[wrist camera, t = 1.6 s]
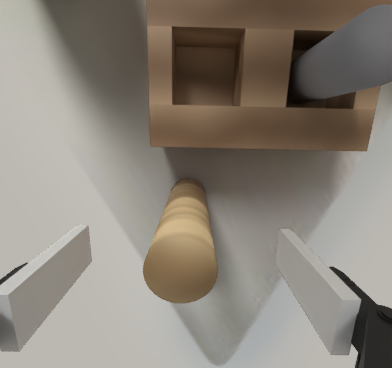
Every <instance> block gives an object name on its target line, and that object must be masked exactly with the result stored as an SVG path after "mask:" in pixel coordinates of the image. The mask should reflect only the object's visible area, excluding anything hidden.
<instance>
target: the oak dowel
mask: <svg viewBox="0 0 392 368" xmlns="http://www.w3.org/2000/svg"><path fill="white" fill-rule="evenodd" d="M143 274H144V279H145V281H146V284H147V285H148V287H149V288H150V290H151V291H152V292H153V293H154V294H155V295H157V296H158V297H160V298H162V299H164V300H166V301H169V302H173V303H189V302H193V301H196V300H198V299H200V298H202V297H203V296H205V295H206V294H207V293H208V292H209V291H210V290H211V289H212V288H213V286H214V284H215V282H216V279H217V275H218V267H217V261H216V255H215V249H214V244H213V238H212V232H211V226H210V220H209V214H208V208H207V202H206V196H205V191H204V188H203V187H202V185H201V184H200V183H199V182H197V181H195V180H192V179H183V180H180V181H179V182H177V183H176V184H175V185H174V186H173V188H172V190H171V193H170V195H169V198H168V201H167V203H166V206H165V209H164V211H163V214H162V217H161V219H160V222H159V224H158V227H157V230H156V232H155V235H154V238H153V240H152V243H151V246H150V248H149V251H148V254H147V256H146V259H145V262H144V266H143Z"/></svg>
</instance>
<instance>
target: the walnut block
mask: <svg viewBox="0 0 392 368" xmlns="http://www.w3.org/2000/svg"><path fill="white" fill-rule="evenodd" d="M382 4H389V5H392V0H146V9H147V45H148V81H149V117H150V147H193V148H239V149H286V150H332V151H367V148H368V143H369V139H370V134H371V129H372V124H373V119H374V114H375V110H376V105H377V100H378V95H379V90H380V86H376V87H372V88H368V89H364V90H360V91H355V92H351V93H347V94H343V95H339V96H334V97H330V98H326V99H322V100H317V101H313V102H309V103H305V104H299V105H297V104H292V103H290V102H288V101H287V91H288V83H289V74H290V65H291V62H292V61H294V60H295V59H296V58H298V57H299V56H301V55H302V54H304V53H305V52H306V51H308V50H309V49H311V48H312V47H314V46H315V45H316V44H318V43H319V42H321V41H322V40H324V39H325V38H326V37H328V36H329V35H331V34H332V33H334V32H335V31H337V30H338V29H339V28H341V27H342V26H344V25H345V24H347V23H348V22H349V21H351V20H352V19H354V18H355V17H357V16H358V15H359V14H361V13H362V12H364V11H365V10H367V9H369V8H371V7H374V6H377V5H382Z"/></svg>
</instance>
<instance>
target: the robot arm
mask: <svg viewBox="0 0 392 368" xmlns="http://www.w3.org/2000/svg"><path fill="white" fill-rule="evenodd" d="M91 261H92V258H91V248H90V238H89V227H88V225H76V226H75V227H74V228H73V229H71V230H70V231H69V232H67V233H66V234H65V235H64V236H62V237H61V238H60V239H59V240H57V241H56V242H55V243H53V244H52V245H51V246H50V247H48V248H47V249H46V250H44V251H43V252H42V253H41V254H39V255H38V256H37V257H36V258H34V259H33V260H32V261H30V262H29V263H25V264H23V265H21V266H19V267H17V268H15V269H14V270H12V271H11V272H10V273H8V274H7V275H6V276H5V277H3V278H2V279H1V280H0V349H1V351H15V352H17V351H20V350H21V349H22V348H23V346H24V345H25V344H26V343H27V341H28V340H29V339H30V338H31V336H32V335H33V334H34V333H35V331H36V330H37V329H38V328H39V326H40V325H41V324H42V323H43V321H44V320H45V319H46V318H47V316H48V315H49V314H50V313H51V311H52V310H53V309H54V308H55V306H56V305H57V304H58V303H59V301H60V300H61V299H62V298H63V296H64V295H65V294H66V293H67V291H68V290H69V289H70V288H71V286H72V285H73V284H74V283H75V282H76V280H77V279H78V278H79V277H80V275H81V274H82V273H83V271H84V270H85V269H86V268H87V267H88V265H89V264H90V263H91ZM275 265H276V266H277V268H278V270H279V271H280V273H281V274H282V276H283V278H284V279H285V281H286V283H287V284H288V286H289V287H290V289H291V291H292V292H293V294H294V296H295V297H296V299H297V300H298V302H299V304H300V305H301V307H302V309H303V310H304V312H305V313H306V315H307V317H308V318H309V320H310V322H311V323H312V325H313V326H314V328H315V330H316V331H317V333H318V335H319V336H320V338H321V340H322V341H323V343H324V345H325V346H326V348H327V349H328V351H329V353H330V354H331V355H349V352H350V347H351V343H352V345H353V346H354V347H355V348H356V350H357V351H358V356H357V361H356V365H355V368H392V309H391V308H388V307H385V306H382V305H377V304H376V303H375V302H374V301H373V300H372V299H371V298H370V297H369V296H368V295H367V294H366V293H364V292H363V291H362V290H361V289H360V288H359V287H358V286H356V284H355V283H354V282H353V281H351V280H350V279H349V277H347V276H346V275H345V274H344V273H343V272H341V271H340V270H338V269H336V268H334V267H328V266H327V265H326V264H325V263H324V262H323V261H322V260H321V259H320V258H319V257H318V256H317V255H316V254H315V253H314V252H313V251H312V250H311V249H310V248H309V247H308V246H307V245H306V244H305V243H304V242H303V241H302V240H301V239H300V238H299V237H298V236H297V235H296V234H295V233H294V232H293V231H292V230H291V229H279V235H278V243H277V252H276V261H275Z"/></svg>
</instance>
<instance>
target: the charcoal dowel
mask: <svg viewBox="0 0 392 368" xmlns="http://www.w3.org/2000/svg"><path fill="white" fill-rule="evenodd" d="M390 81H392V5H389V4H382V5H377V6H374V7H371V8H369V9H367V10H365V11H364V12H362V13H361V14H359V15H358V16H357V17H355V18H354V19H352V20H351V21H349V22H348V23H347V24H345V25H344V26H342V27H341V28H339V29H338V30H337V31H335V32H334V33H332V34H331V35H329V36H328V37H326V38H325V39H324V40H322V41H321V42H319V43H318V44H316V45H315V46H314V47H312V48H311V49H309V50H308V51H306V52H305V53H304V54H302V55H301V56H299V57H298V58H296V59H295V60H294V61H292V62H291V65H290V74H289V83H288V91H287V101H288V102H290V103H292V104H297V105H299V104H305V103H309V102H313V101H317V100H322V99H326V98H330V97H334V96H339V95H343V94H347V93H351V92H355V91H360V90H364V89H368V88H372V87H376V86H380V85H384V84H386V83H388V82H390Z"/></svg>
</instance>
